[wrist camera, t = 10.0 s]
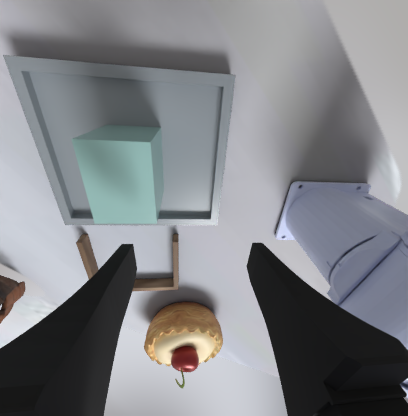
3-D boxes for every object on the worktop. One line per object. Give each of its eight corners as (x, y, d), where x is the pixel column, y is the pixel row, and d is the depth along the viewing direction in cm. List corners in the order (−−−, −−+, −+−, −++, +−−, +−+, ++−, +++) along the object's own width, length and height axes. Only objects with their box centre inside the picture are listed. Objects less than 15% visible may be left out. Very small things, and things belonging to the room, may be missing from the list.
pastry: (226, 296, 32) (241, 359, 25) (208, 336, 38) (216, 397, 30) (152, 293, 30) (144, 361, 22) (144, 336, 35) (135, 403, 27)
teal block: (161, 127, 17) (150, 142, 12) (164, 189, 20) (156, 223, 15) (106, 124, 16) (71, 139, 11) (118, 189, 19) (94, 223, 14)
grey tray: (231, 76, 16) (235, 74, 15) (215, 217, 23) (217, 225, 22) (20, 58, 14) (2, 54, 13) (72, 216, 21) (65, 224, 20)
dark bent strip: (178, 234, 24) (177, 242, 23) (178, 280, 28) (178, 289, 27) (82, 234, 23) (76, 242, 21) (97, 282, 27) (93, 292, 26)
